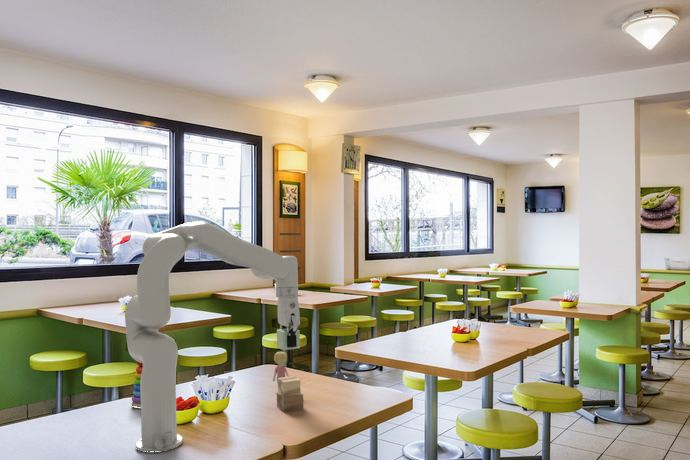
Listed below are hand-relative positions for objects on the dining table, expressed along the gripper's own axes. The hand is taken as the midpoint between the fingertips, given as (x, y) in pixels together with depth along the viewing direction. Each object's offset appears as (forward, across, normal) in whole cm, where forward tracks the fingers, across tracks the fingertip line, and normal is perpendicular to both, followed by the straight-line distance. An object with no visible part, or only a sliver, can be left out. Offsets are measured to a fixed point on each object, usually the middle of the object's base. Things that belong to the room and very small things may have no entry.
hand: (288, 344), depth 188 cm
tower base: (+22, 0, 0) cm, 22 cm away
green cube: (+1, 0, 0) cm, 1 cm away
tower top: (+17, 0, 0) cm, 17 cm away
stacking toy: (+22, +28, +44) cm, 56 cm away
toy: (+22, +20, -4) cm, 30 cm away
